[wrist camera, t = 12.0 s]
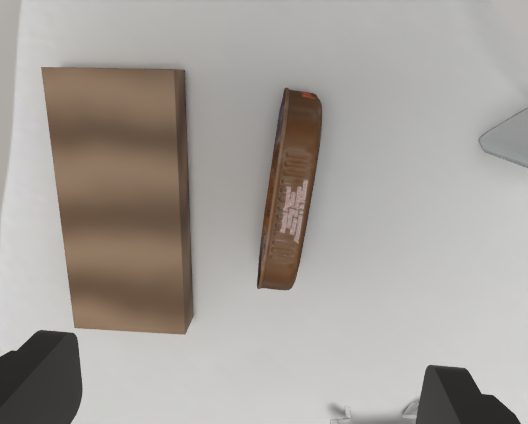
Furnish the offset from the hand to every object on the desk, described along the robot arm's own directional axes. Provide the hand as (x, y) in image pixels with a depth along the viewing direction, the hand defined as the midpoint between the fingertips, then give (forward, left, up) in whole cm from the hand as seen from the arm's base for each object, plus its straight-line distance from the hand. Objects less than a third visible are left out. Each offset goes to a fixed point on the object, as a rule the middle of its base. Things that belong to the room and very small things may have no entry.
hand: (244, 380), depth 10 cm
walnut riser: (+4, -13, -27) cm, 30 cm away
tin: (+1, 0, -27) cm, 27 cm away
